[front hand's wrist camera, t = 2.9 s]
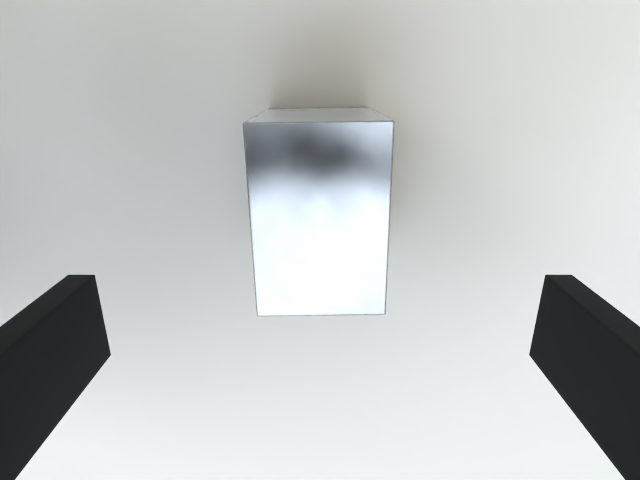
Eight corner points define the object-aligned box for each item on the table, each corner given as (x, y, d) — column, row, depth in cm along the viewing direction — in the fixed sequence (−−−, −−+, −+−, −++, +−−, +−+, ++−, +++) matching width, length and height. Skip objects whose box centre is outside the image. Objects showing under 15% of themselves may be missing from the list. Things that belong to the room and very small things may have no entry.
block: (275, 244, 29) (256, 316, 20) (268, 108, 26) (242, 122, 17) (364, 243, 29) (385, 315, 20) (368, 107, 26) (394, 120, 17)
